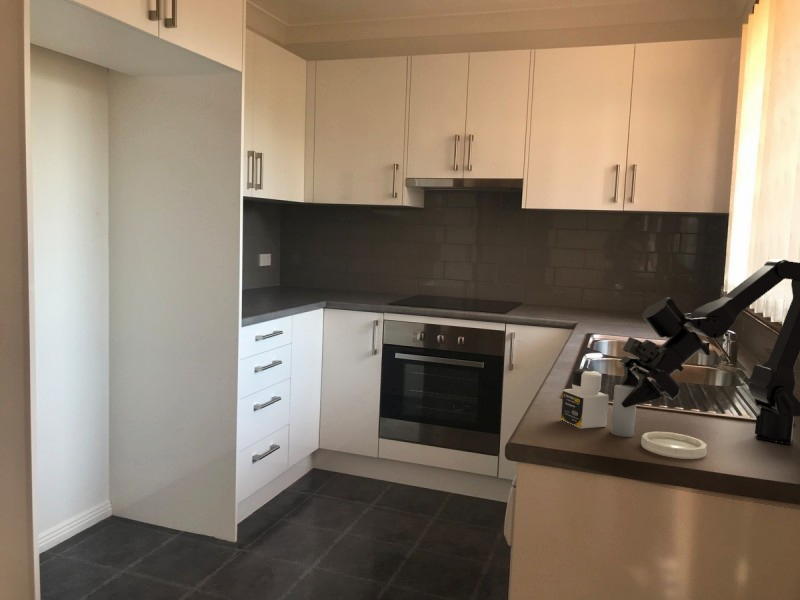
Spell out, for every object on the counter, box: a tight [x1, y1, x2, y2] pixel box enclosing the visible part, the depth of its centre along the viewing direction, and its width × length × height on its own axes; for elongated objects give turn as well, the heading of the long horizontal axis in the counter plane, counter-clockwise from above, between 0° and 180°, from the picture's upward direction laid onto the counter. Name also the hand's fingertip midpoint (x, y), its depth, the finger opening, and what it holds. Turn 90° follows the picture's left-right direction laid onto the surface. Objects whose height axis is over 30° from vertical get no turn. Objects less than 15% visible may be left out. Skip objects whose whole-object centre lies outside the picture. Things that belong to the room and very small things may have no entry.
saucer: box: [640, 431, 708, 460], centre depth 133 cm, size 12×12×2 cm
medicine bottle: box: [560, 368, 609, 429], centre depth 148 cm, size 7×7×12 cm
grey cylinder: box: [610, 384, 637, 438], centre depth 142 cm, size 5×5×10 cm
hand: (618, 402), depth 142 cm, fingers closed on grey cylinder, 5 cm apart
